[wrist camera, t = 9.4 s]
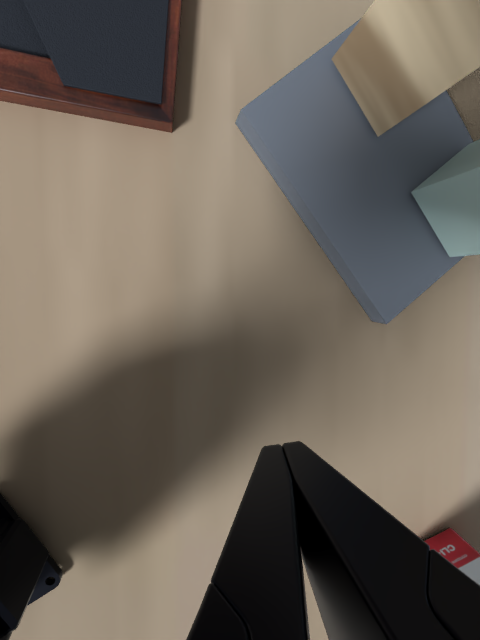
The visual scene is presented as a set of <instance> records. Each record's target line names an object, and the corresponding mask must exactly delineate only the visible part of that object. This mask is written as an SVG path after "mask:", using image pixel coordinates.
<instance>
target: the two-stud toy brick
mask: <svg viewBox="0 0 480 640" xmlns="http://www.w3.org/2000/svg"><path fill="white" fill-rule="evenodd" d="M411 193H412V195H413V196H414V198H415V200H416V201H417V203H418V205H419V207H420V208H421V210H422V212H423V213H424V215H425V217H426V218H427V220H428V222H429V223H430V225H431V227H432V228H433V230H434V232H435V233H436V235H437V237H438V238H439V240H440V242H441V244H442V245H443V247H444V249H445V250H446V252H447V254H448V255H449V257H457V256H469V255H480V139H479V140H477V141H475V142H472V143H470V144H468V145H467V146H466V147H464V148H463V149H462V150H461V151H460V152H458V153H457V154H456V155H455V156H454V157H452V158H451V159H450V160H449V161H448V162H446V163H445V164H444V165H443V166H442V167H440V168H439V169H438V170H437V171H436V172H434V173H433V174H432V175H431V176H430V177H428V178H427V179H426V180H425V181H424V182H423V183H421V184H420V185H419V186H418V187H417V188H415V189H414V190H413V191H412V192H411Z"/></svg>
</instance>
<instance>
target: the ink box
mask: <svg viewBox="0 0 480 640" xmlns="http://www.w3.org/2000/svg"><path fill="white" fill-rule="evenodd" d="M424 542H426V543H427V544H428V545H429V546H430V550H431V549H434V550H436V551H437V552H438V553H440V554H441V555H442V556H443V557H444V558H446V559H447V560H448V561H449V562H451V563H452V564H453V565H454V566H456V567H457V568H458V569H459V570H461V571H462V572H463V573H465V574H466V575H467V576H468V577H470V578H471V579H472V580H474V581H475V582H476V583H478V584H479V585H480V553H478V552H477V551H476V550H475V549H474V548H473V547H472V546H471V545H469V544H468V543H467V542H466V541H465V540H464V539H463V538H462V537H461V536H460V535H458V534H457V533H456V532H455V531H454V530H453V529H452V528H448V529H447V530H445V531H443V532H441V533H439V534H437V535H435V536H433V537H431V538H429V539H427V540H425V541H424Z"/></svg>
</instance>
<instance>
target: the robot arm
mask: <svg viewBox="0 0 480 640" xmlns="http://www.w3.org/2000/svg"><path fill="white" fill-rule="evenodd" d="M301 554H302V555H301ZM302 558H303V562H304V565H305V568H306V571H307V575H308V578H309V581H310V584H311V587H312V590H313V593H314V596H315V599H316V602H317V605H318V608H319V611H320V614H321V617H322V620H323V623H324V626H325V629H326V632H327V635H328V638H329V640H480V585H479V584H478V583H476V582H475V581H474V580H472V579H471V578H470V577H468V576H467V575H466V574H465V573H463V572H462V571H461V570H459V569H458V568H457V567H456V566H454V565H453V564H452V563H451V562H449V561H448V560H447V559H446V558H444V557H443V556H442V555H441V554H440V553H438V552H437V551H436V550H434V549H431V550H430V546H429V545H428V544H427V543H426V542H424V541H423V540H422V539H421V538H419V537H418V536H417V535H416V534H415V533H413V532H412V531H411V530H410V529H408V528H407V527H406V526H405V525H403V524H402V523H401V522H400V521H398V520H397V519H396V518H395V517H394V516H392V515H391V514H390V513H389V512H387V511H386V510H385V509H384V508H382V507H381V506H380V505H379V504H378V503H376V502H375V501H374V500H373V499H371V498H370V497H369V496H368V495H366V494H365V493H364V492H363V491H361V490H360V489H359V488H358V487H357V486H355V485H354V484H353V483H352V482H350V481H349V480H348V479H347V478H345V477H344V476H343V475H342V474H340V473H339V472H338V471H337V470H336V469H334V468H333V467H332V466H331V465H329V464H328V463H327V462H326V461H324V460H323V459H322V458H321V457H319V456H318V455H317V454H316V453H315V452H313V451H312V450H311V449H310V448H308V447H307V446H306V445H305V444H303V443H302V442H300V441H296V442H290V443H284V444H283V445H282V446H281V445H279V444H276V445H269V446H264V447H263V448H262V450H261V452H260V455H259V457H258V460H257V462H256V465H255V468H254V470H253V473H252V475H251V478H250V480H249V483H248V486H247V488H246V491H245V493H244V496H243V498H242V501H241V504H240V506H239V509H238V511H237V514H236V517H235V519H234V522H233V524H232V527H231V529H230V532H229V535H228V537H227V540H226V542H225V545H224V547H223V550H222V553H221V555H220V558H219V560H218V563H217V565H216V568H215V571H214V573H213V576H212V578H211V583H210V584H209V586H208V588H207V591H206V593H205V596H204V598H203V601H202V604H201V606H200V609H199V611H198V613H197V616H196V618H195V620H194V623H193V625H192V628H191V630H190V632H189V635H188V637H187V639H186V640H310V634H309V624H308V614H307V604H306V594H305V584H304V574H303V564H302ZM48 577H53V578H55V579H49V578H48ZM61 578H62V571H61V569H60V568H59V567H58V565H57V564H56V563H55V561H54V560H53V559H52V558H51V556H50V555H49V552H48V551H47V549H46V548H45V547H44V546H43V544H42V543H41V542H40V540H39V539H38V538H37V537H36V535H35V534H34V533H33V532H32V530H31V529H30V528H29V527H28V525H27V524H26V523H25V521H24V520H22V519H21V518H20V517H19V516H18V515H17V513H16V512H15V511H14V510H13V508H12V507H11V506H10V504H9V503H8V502H7V501H6V499H5V498H4V497H3V496H2V494H1V493H0V640H9V638H10V636H11V634H12V631H14V630H15V629H16V628H17V627H18V625H19V623H20V621H21V618H22V616H23V614H24V611H25V609H26V607H27V605H29V604H31V603H32V602H34V601H35V600H37V599H39V598H40V597H42V596H43V595H45V594H46V593H48V592H50V591H51V590H53V589H54V588H56V587H57V586H58V585H59V583H60V581H61Z"/></svg>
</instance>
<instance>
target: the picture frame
mask: <svg viewBox="0 0 480 640" xmlns="http://www.w3.org/2000/svg"><path fill="white" fill-rule="evenodd" d="M181 6H182V0H0V101H5V102H10V103H16V104H21V105H26V106H32V107H37V108H43V109H48V110H53V111H59V112H64V113H69V114H75V115H80V116H85V117H91V118H96V119H102V120H107V121H112V122H118V123H123V124H128V125H134V126H139V127H144V128H150V129H155V130H161V131H166V132H171V133H172V128H173V114H174V101H175V87H176V73H177V60H178V46H179V33H180V19H181Z"/></svg>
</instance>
